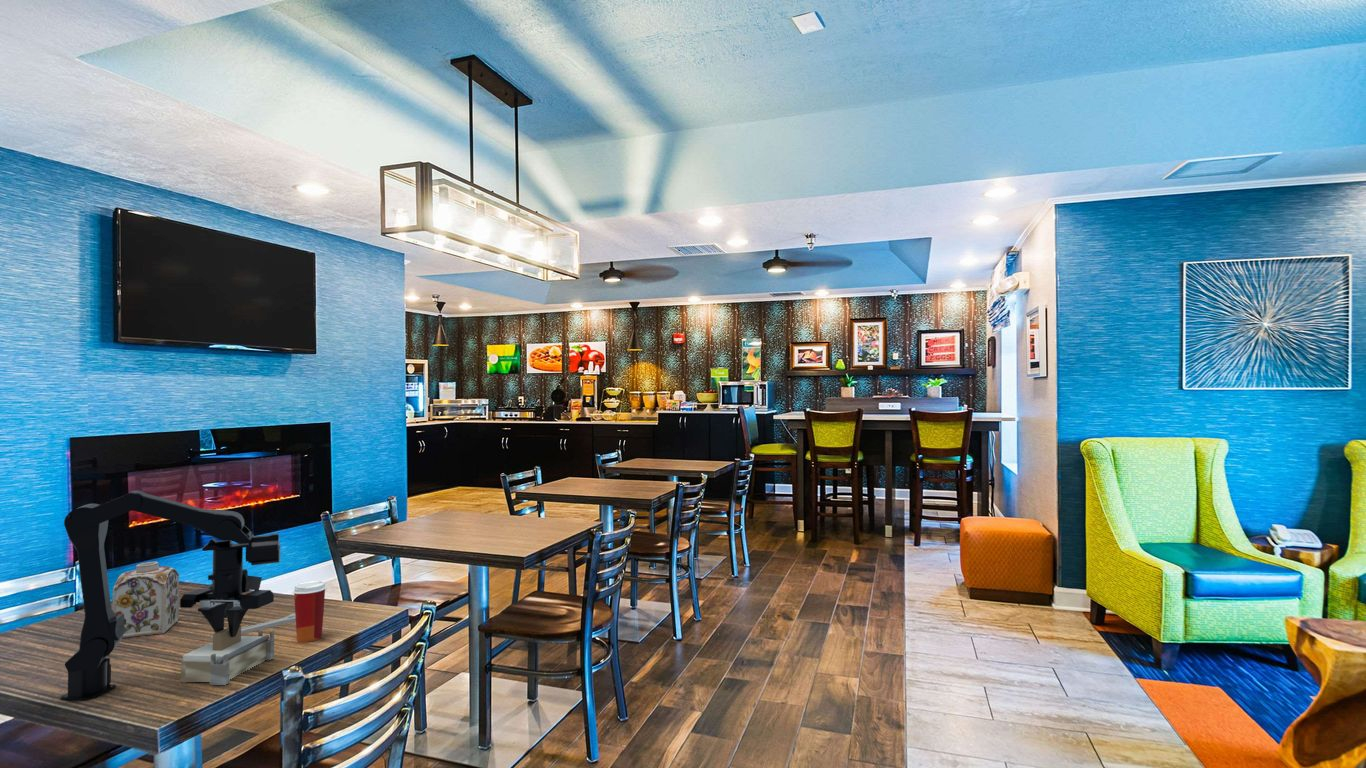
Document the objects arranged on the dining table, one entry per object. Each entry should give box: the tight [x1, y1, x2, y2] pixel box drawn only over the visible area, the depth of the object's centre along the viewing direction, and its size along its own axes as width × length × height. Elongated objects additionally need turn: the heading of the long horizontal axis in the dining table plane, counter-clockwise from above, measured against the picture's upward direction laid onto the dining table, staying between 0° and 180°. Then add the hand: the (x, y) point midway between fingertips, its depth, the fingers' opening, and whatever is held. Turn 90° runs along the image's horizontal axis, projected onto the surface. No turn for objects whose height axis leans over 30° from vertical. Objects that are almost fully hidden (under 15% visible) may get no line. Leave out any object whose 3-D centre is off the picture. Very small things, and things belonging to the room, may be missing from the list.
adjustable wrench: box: [210, 612, 296, 641], centre depth 182 cm, size 25×6×2 cm, turn 135°
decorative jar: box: [111, 561, 180, 639], centre depth 180 cm, size 12×12×18 cm
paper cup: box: [292, 580, 327, 644], centre depth 172 cm, size 8×8×14 cm
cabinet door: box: [182, 624, 270, 664], centre depth 152 cm, size 15×10×5 cm
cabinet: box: [180, 630, 275, 686], centre depth 152 cm, size 15×11×6 cm
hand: (226, 636), depth 152 cm, fingers open, 3 cm apart
